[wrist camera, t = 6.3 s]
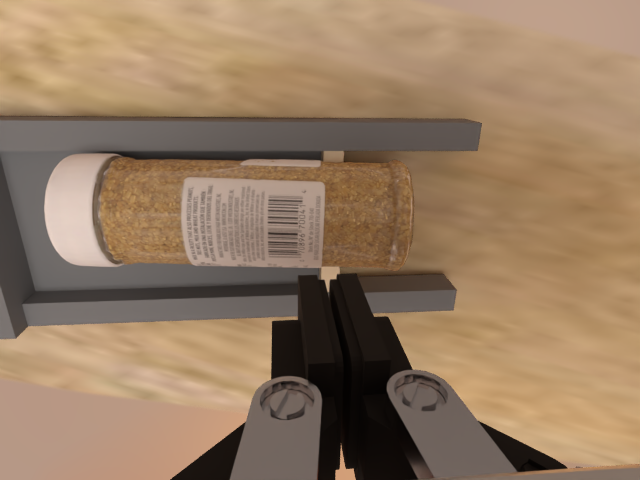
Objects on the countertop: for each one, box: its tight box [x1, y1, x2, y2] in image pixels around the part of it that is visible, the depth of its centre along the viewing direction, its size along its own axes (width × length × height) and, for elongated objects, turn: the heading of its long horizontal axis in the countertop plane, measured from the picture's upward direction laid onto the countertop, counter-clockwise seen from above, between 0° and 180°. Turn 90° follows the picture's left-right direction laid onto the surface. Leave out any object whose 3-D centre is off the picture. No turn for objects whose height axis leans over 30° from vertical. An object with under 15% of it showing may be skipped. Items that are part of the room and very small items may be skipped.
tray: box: [0, 116, 482, 339], centre depth 19 cm, size 22×9×3 cm, turn 89°
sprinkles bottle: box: [44, 153, 414, 271], centre depth 17 cm, size 5×5×14 cm
